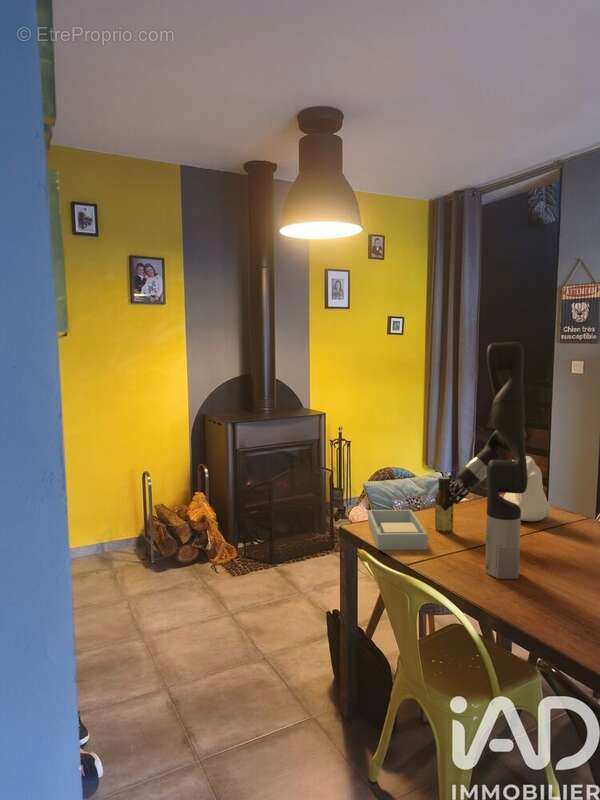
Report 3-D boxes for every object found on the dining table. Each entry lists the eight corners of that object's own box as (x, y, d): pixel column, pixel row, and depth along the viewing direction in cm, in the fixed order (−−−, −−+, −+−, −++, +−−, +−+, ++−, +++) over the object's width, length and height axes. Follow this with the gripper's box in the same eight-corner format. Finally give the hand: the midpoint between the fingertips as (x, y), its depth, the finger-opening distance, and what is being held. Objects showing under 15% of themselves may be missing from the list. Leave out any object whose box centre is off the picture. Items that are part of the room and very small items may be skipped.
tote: (427, 552, 172) (427, 534, 172) (377, 552, 172) (377, 534, 172) (411, 525, 198) (411, 509, 197) (368, 525, 198) (368, 510, 198)
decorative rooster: (553, 528, 194) (556, 460, 191) (507, 525, 197) (509, 459, 195) (539, 507, 218) (541, 447, 216) (498, 505, 222) (500, 446, 219)
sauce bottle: (455, 535, 187) (456, 480, 185) (437, 536, 187) (438, 480, 185) (450, 529, 193) (451, 475, 191) (433, 529, 193) (433, 475, 191)
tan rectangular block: (418, 546, 175) (418, 531, 174) (384, 546, 175) (384, 531, 174) (412, 536, 183) (412, 522, 183) (380, 536, 184) (380, 522, 183)
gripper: (460, 461, 195) (427, 492, 196) (472, 470, 180) (437, 504, 182) (474, 475, 195) (442, 506, 196) (488, 485, 181) (453, 519, 182)
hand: (440, 505), depth 189 cm, fingers open, 7 cm apart
